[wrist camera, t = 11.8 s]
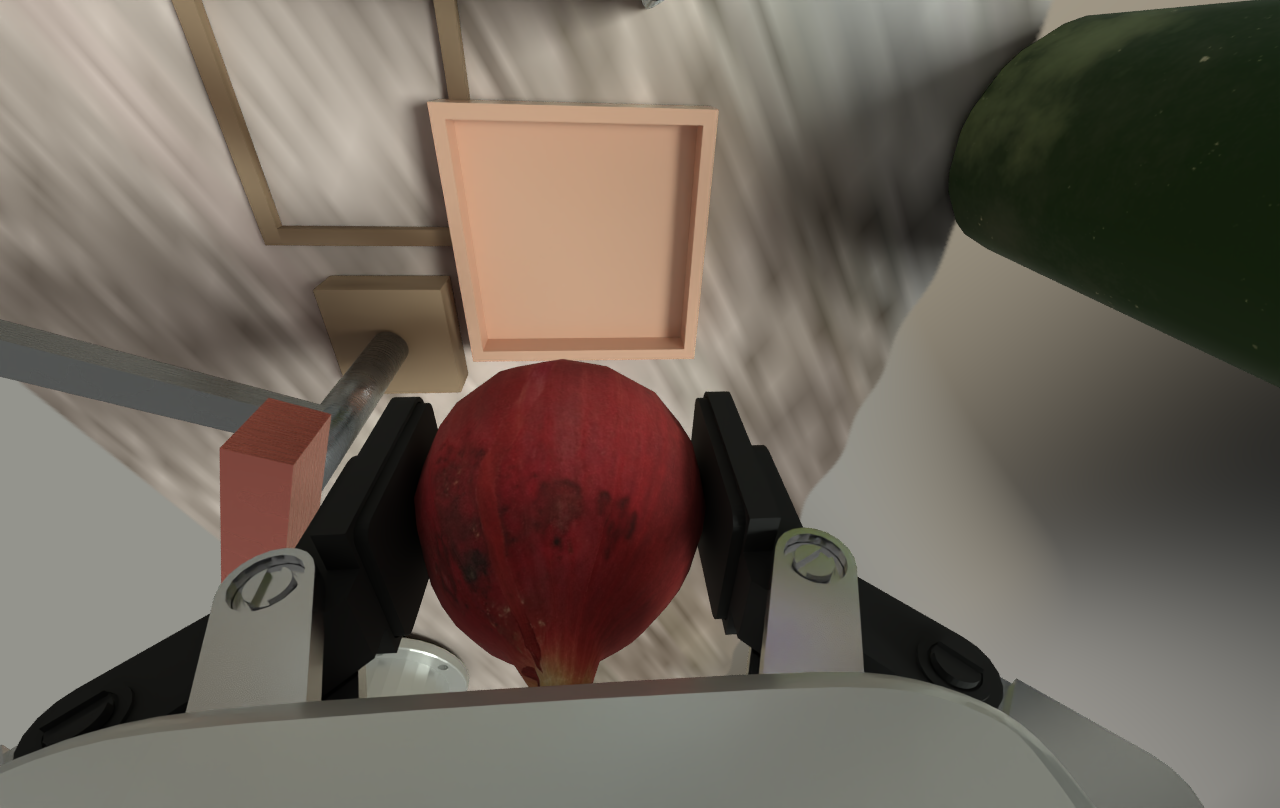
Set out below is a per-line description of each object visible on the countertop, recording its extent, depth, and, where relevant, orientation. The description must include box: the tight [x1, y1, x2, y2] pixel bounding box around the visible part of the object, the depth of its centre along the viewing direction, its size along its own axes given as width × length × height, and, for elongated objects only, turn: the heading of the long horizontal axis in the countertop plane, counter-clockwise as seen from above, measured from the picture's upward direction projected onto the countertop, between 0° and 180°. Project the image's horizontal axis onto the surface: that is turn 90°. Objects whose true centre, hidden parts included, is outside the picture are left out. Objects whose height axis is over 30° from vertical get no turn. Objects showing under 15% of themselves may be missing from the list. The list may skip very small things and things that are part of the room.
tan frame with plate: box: [172, 0, 470, 394], centre depth 24 cm, size 18×11×2 cm, turn 178°
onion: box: [414, 359, 706, 687], centre depth 10 cm, size 6×6×8 cm
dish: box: [427, 99, 719, 362], centre depth 25 cm, size 12×12×2 cm
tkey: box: [0, 319, 409, 583], centre depth 19 cm, size 13×7×13 cm, turn 67°
